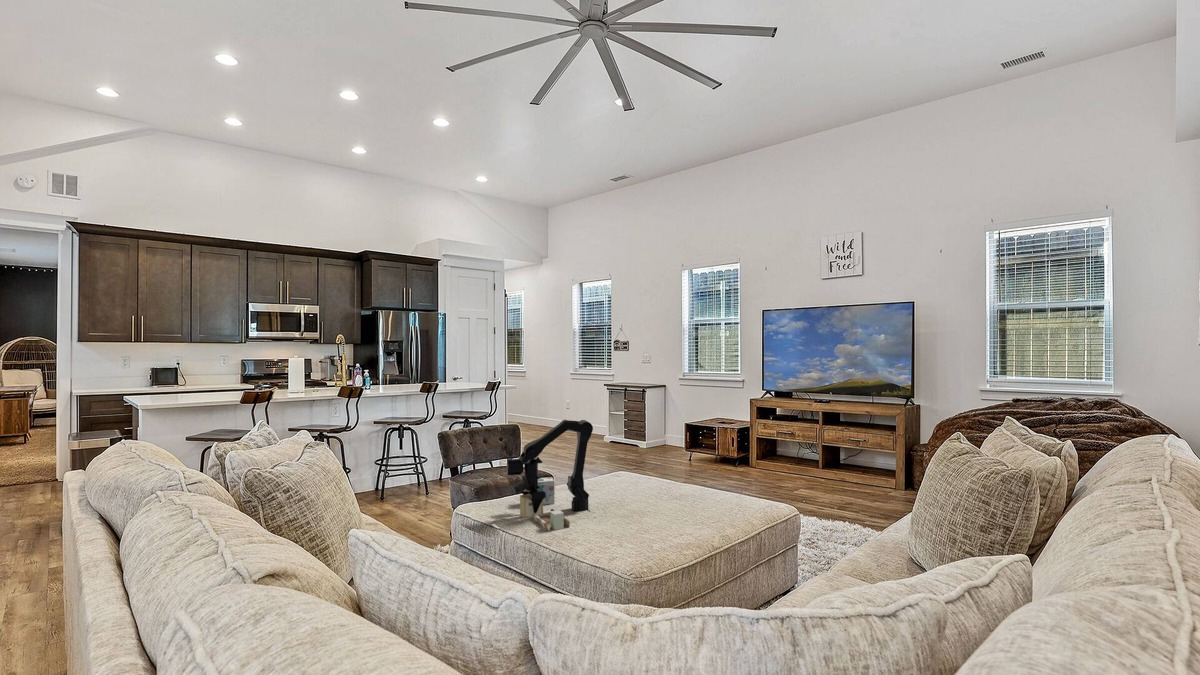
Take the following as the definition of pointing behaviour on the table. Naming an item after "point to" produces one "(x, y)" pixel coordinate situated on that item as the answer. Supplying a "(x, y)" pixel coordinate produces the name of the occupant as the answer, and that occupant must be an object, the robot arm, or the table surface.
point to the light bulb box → (547, 489)
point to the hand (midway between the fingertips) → (531, 510)
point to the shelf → (548, 521)
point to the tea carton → (528, 506)
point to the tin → (556, 519)
